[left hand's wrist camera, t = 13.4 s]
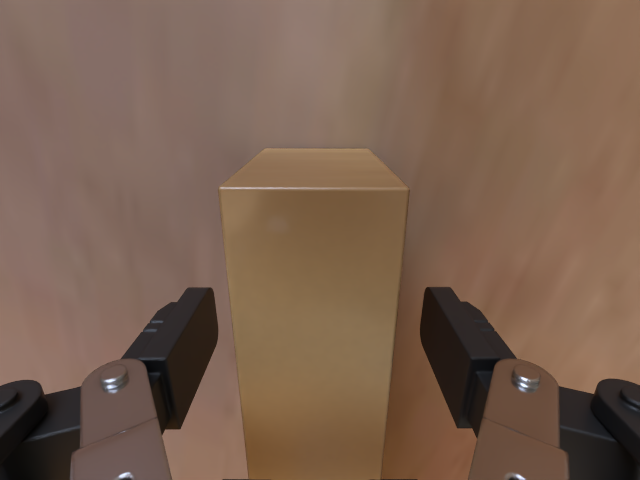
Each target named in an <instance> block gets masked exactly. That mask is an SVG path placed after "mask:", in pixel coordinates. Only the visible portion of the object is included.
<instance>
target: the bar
mask: <svg viewBox="0 0 640 480" xmlns="http://www.w3.org/2000/svg"><path fill="white" fill-rule="evenodd" d="M409 192H410V190H409V187H408V186H407V185H406V184H404V183H403V182H402V181H401V180H400V179H399V178H398V177H397V176H396V175H395V174H394V173H393V172H392V171H391V170H390V169H389V168H388V167H387V166H386V165H385V164H384V163H383V162H382V161H381V160H380V159H379V158H378V157H377V156H376V155H375V154H374V153H372V152H371V151H370V150H369V149H328V148H265V149H264V150H262V151H261V152H260V153H259V154H258V155H256V156H255V157H254V158H253V159H252V160H250V161H249V162H248V163H247V164H246V165H245V166H243V167H242V168H241V169H240V170H239V171H237V172H236V173H235V174H234V175H233V176H231V177H230V178H229V179H228V180H227V181H226V182H224V183H223V184H222V185H221V186H220V187H219V188H218V194H219V204H220V213H221V223H222V232H223V241H224V251H225V260H226V270H227V279H228V289H229V298H230V308H231V317H232V326H233V336H234V345H235V355H236V364H237V374H238V383H239V393H240V402H241V411H242V421H243V430H244V440H245V449H246V459H247V468H248V478H249V479H271V480H369V479H381V475H382V465H383V455H384V445H385V434H386V424H387V414H388V404H389V394H390V384H391V374H392V364H393V354H394V344H395V334H396V323H397V313H398V303H399V293H400V283H401V273H402V263H403V253H404V243H405V233H406V223H407V212H408V202H409Z"/></svg>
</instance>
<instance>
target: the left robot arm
mask: <svg viewBox="0 0 640 480" xmlns="http://www.w3.org/2000/svg"><path fill="white" fill-rule="evenodd" d="M420 337H421V342H422V346H423V348H424V350H425V353H426V355H427V358H428V360H429V362H430V365H431V367H432V369H433V372H434V374H435V377H436V379H437V381H438V384H439V386H440V388H441V391H442V393H443V396H444V398H445V400H446V403H447V405H448V407H449V410H450V412H451V415H452V417H453V419H454V422H455V424H456V426H457V428H472V429H473V431H474V433H475V435H476V437H477V443H476V447H475V451H474V456H473V460H472V464H471V469H470V473H469V477H468V480H640V385H637V384H635V383H632V382H629V381H625V380H620V379H605V380H602V381H600V382H599V383H598V385H597V387H596V390H595V393H594V394H591V393H587V392H582V391H578V390H573V389H569V388H564V387H560V386H558V383H557V382H556V380H555V379H554V378H553V376H552V375H551V374H549V373H548V372H547V371H546V370H544V369H543V368H541V367H539V366H537V365H535V364H533V363H530V362H528V361H524V360H520V359H517V358H516V357H515V355H514V354H513V353H512V351H511V350H510V349H509V348H508V346H507V345H506V344H505V342H504V341H503V340H502V338H501V337H500V336H499V335H498V333H497V332H496V331H494V328H493V327H492V325H491V324H490V323H488V320H487V319H486V318H485V316H484V315H483V314H482V312H481V311H480V310H479V309H477V308H476V307H474V306H473V305H471V304H470V303H468V302H461V301H460V300H459V299H458V297H457V296H456V294H455V293H454V291H453V290H452V289H451V288H450V287H427V288H426V289H425V292H424V300H423V308H422V316H421V324H420ZM217 339H218V322H217V314H216V306H215V299H214V292H213V289H212V288H187V289H186V291H185V292H184V293H183V295H182V296H181V298H180V299H179V300H178V302H171V303H169V304H168V305H166V306H165V307H163V308H162V309H160V310H159V311H158V312H157V313H156V314H155V315H154V317H153V318H152V319H151V321H150V323H148V324H147V326H146V327H145V328H144V330H143V332H141V333H140V335H139V336H138V337H137V339H136V340H135V341H134V342H133V344H132V345H131V346H130V348H129V349H128V350H127V351H126V353H125V354H124V355H123V357H122V358H121V359H120V360H116V361H112V362H110V363H107V364H105V365H103V366H101V367H99V368H97V369H96V370H94V371H93V372H92V373H91V374H89V375H88V376H87V378H86V379H85V380H84V382H83V383H82V386H81V387H77V388H73V389H69V390H64V391H60V392H55V393H51V394H46V395H44V392H43V389H42V387H41V385H40V383H38V382H37V381H33V380H20V381H15V382H11V383H7V384H4V385H2V386H0V480H172V477H171V473H170V469H169V464H168V460H167V456H166V451H165V447H164V443H163V438H162V435H163V433H164V430H165V429H181V426H182V424H183V422H184V419H185V417H186V415H187V412H188V410H189V408H190V405H191V403H192V401H193V398H194V396H195V394H196V391H197V389H198V387H199V384H200V382H201V380H202V377H203V375H204V373H205V370H206V368H207V366H208V363H209V361H210V359H211V356H212V354H213V352H214V349H215V347H216V344H217ZM223 480H271V479H223ZM369 480H417V479H369Z"/></svg>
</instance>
